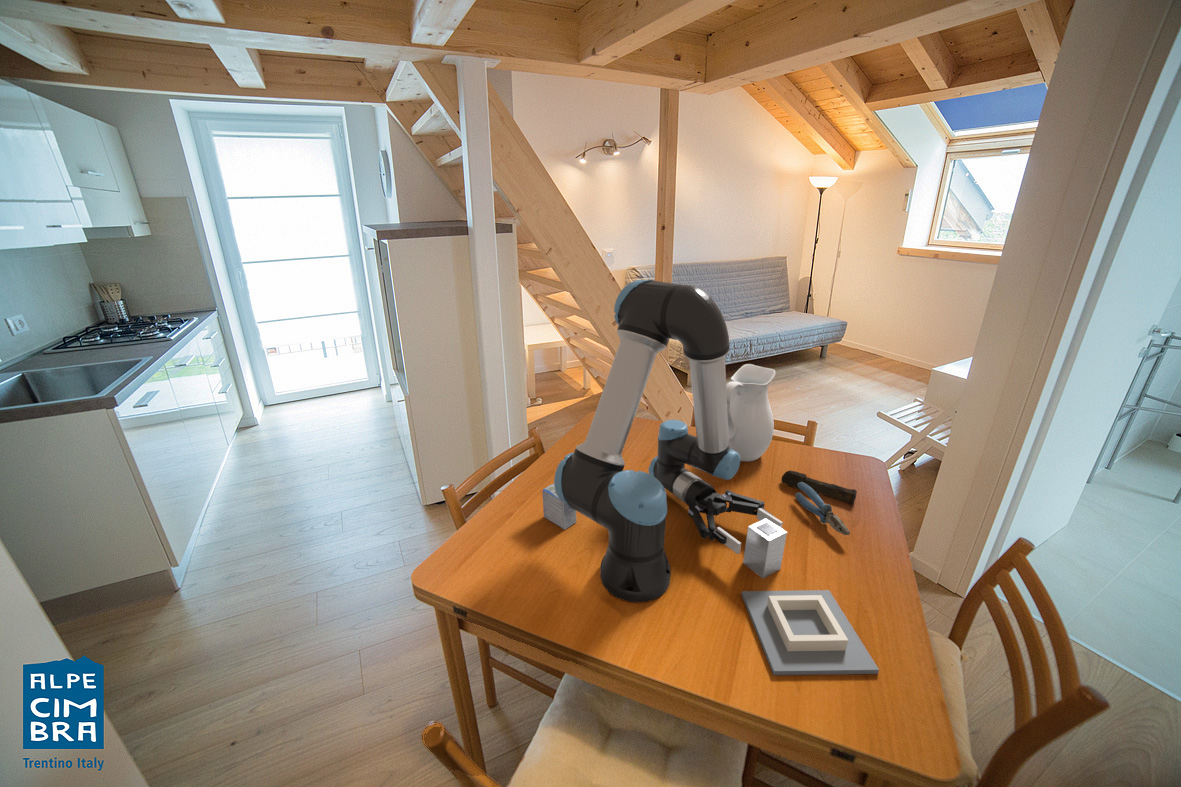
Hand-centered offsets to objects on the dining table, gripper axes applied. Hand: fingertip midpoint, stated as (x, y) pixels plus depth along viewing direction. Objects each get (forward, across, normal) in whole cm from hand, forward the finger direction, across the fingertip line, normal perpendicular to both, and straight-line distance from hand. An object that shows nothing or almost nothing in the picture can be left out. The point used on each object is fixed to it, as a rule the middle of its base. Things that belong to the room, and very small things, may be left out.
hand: (761, 537), depth 106 cm
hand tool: (-9, -35, -6) cm, 37 cm away
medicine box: (-36, +32, -6) cm, 49 cm away
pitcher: (-36, -32, -6) cm, 48 cm away
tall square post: (+2, +1, -6) cm, 6 cm away
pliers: (-2, -25, -6) cm, 26 cm away
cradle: (+18, +8, -6) cm, 21 cm away
